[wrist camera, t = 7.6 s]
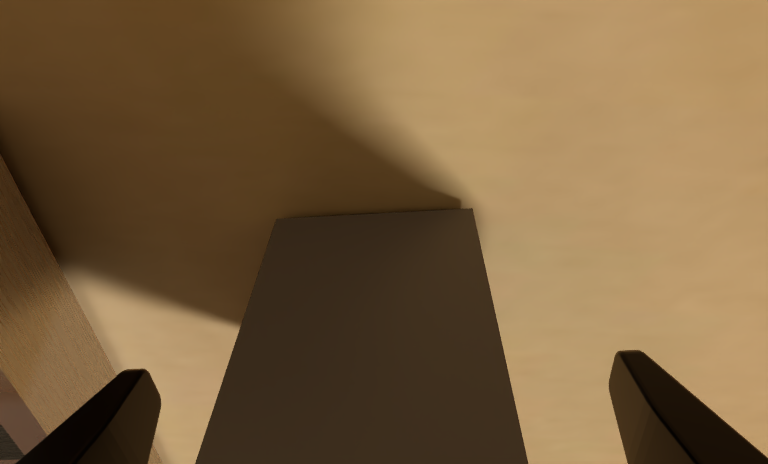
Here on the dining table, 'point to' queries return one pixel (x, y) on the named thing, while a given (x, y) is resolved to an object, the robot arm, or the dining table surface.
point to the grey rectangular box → (39, 335)
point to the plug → (368, 349)
